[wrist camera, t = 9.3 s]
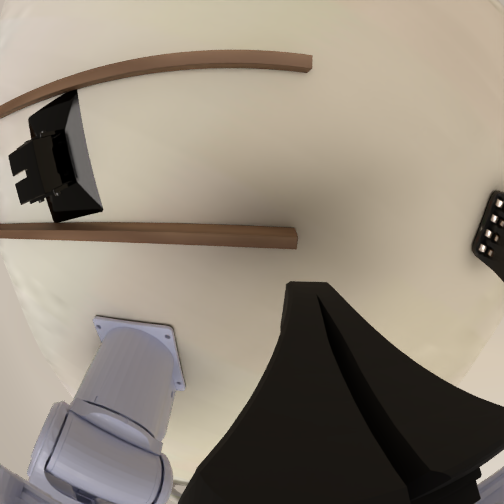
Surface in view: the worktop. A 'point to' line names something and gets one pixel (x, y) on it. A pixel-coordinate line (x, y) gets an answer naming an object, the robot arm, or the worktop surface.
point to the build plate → (57, 162)
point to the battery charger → (492, 235)
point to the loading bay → (160, 231)
